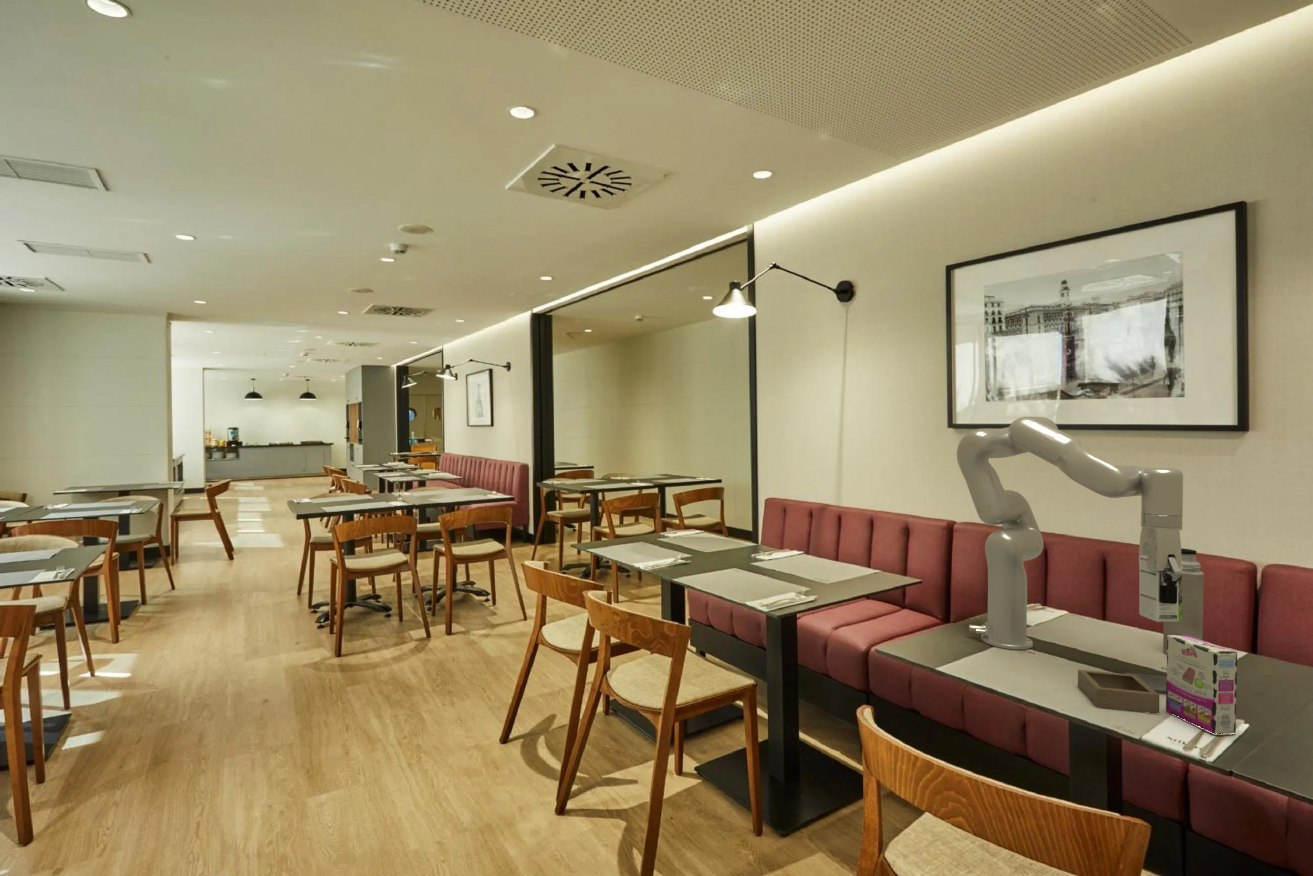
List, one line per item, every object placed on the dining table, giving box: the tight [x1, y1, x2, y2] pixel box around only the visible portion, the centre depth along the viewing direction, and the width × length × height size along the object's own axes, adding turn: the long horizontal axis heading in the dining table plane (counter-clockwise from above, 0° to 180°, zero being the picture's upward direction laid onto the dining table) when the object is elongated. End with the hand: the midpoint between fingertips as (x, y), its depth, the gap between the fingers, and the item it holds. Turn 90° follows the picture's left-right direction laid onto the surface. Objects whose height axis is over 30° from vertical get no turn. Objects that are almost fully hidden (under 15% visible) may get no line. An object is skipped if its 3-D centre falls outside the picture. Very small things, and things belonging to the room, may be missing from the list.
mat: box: [1124, 672, 1167, 695], centre depth 150 cm, size 10×10×1 cm
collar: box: [1077, 669, 1161, 714], centre depth 142 cm, size 11×11×4 cm
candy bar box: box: [1165, 635, 1238, 734], centre depth 131 cm, size 11×5×16 cm, turn 5°
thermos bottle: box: [1162, 547, 1205, 656], centre depth 170 cm, size 8×8×28 cm
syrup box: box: [1138, 555, 1182, 623], centre depth 149 cm, size 6×6×14 cm
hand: (1160, 598), depth 149 cm, fingers closed on syrup box, 6 cm apart
